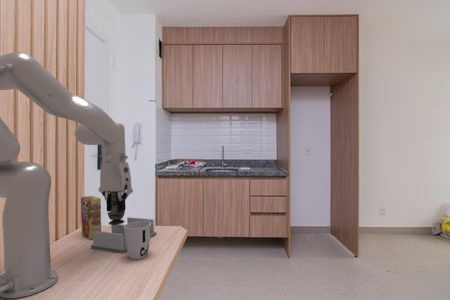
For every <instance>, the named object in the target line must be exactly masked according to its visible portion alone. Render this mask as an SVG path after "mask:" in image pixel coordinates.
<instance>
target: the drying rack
mask: <svg viewBox="0 0 450 300" xmlns="http://www.w3.org/2000/svg"><path fill="white" fill-rule="evenodd" d="M137 221H147V222H150V223H151V233H150V239H151V238H153V237H155V236H156V235H157V231H155V219H154V218H144V217H142V218H141V217H130V216H129V217H127V218H126V222H127V223H126V224H128V223H132V222H137ZM124 225H125V224H124V223H122V224H118V225H110V226H111V232H110V231H109V232H108V231H107V232H106V231H102V230H101V231H93V239H92V245H90V249H92V250H96V251H97V250H99V251H107V252H114V253H121V254H125V253H128V250H127V246H126V241H125V233H124Z"/></svg>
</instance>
